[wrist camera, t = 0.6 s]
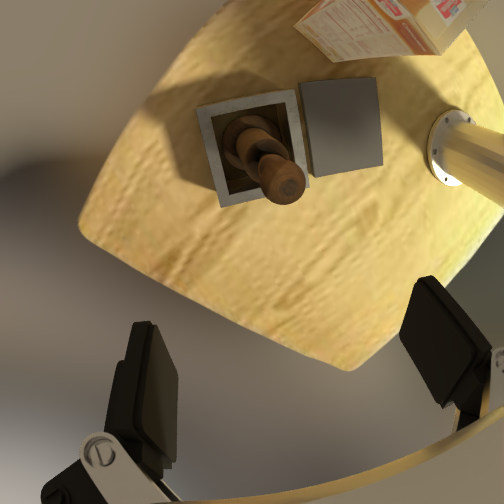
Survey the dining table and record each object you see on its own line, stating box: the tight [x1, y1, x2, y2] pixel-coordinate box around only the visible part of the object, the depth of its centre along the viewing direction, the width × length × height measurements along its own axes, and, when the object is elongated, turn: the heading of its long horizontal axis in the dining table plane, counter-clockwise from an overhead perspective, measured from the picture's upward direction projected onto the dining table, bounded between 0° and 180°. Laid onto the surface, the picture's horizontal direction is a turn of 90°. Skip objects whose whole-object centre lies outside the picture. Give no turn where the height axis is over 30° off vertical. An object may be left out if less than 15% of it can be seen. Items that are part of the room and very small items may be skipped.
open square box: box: [196, 89, 310, 208], centre depth 31 cm, size 10×11×5 cm
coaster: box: [298, 77, 383, 178], centre depth 33 cm, size 10×12×1 cm
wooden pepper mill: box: [222, 114, 306, 205], centre depth 26 cm, size 7×6×18 cm
